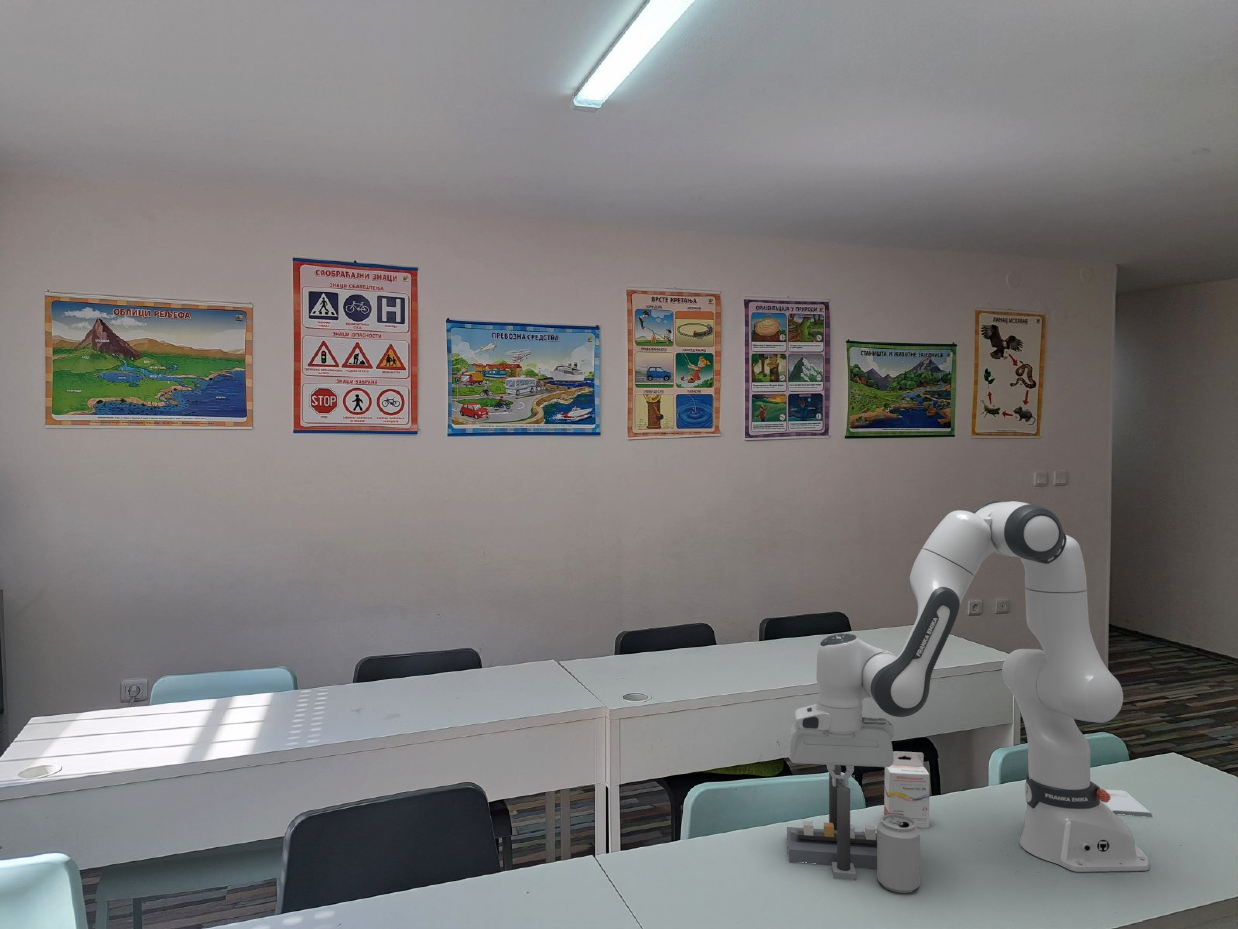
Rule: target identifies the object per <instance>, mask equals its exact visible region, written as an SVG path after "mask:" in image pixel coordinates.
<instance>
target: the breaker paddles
mask: <svg viewBox="0 0 1238 929" xmlns="http://www.w3.org/2000/svg"><path fill="white" fill-rule="evenodd" d="M802 822H803V827H802V828H803V831H800V830H798V839H808V840H822V841H836V842H837V833H834V825H833V823H829V822H823V829H824V832H814V831H813V829H814V823H813V821H806V820H803V821H802ZM855 832H856V829H855V825H854V824H852V823H850V843H864V844H877V836H876V833H877V829H876V827H875V825H866V824H865V825H864V832H865V835H857V834H855Z"/></svg>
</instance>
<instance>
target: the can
mask: <svg viewBox="0 0 1238 929" xmlns="http://www.w3.org/2000/svg"><path fill="white" fill-rule="evenodd" d="M876 833H877V869H876V878H877V880H878V881H879V882H880V883H881V885H882V887H884V888H885V889H887V890H889V891H892V892H894V893H900V894H907V893H911V892H913V891H914V890H916V889H918V887H920V882H921V881H920V880H921V869H920V868H921V850H920V848H921V842H920V841H921V831H920V829H919V827H916V822H915V821H914V820H913V819H911V818H909V817H907V816H904V815H899V814H888V815H884V814H883V815H882V816H881V818H880V822H878V823H877V827H876Z"/></svg>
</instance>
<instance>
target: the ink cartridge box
mask: <svg viewBox="0 0 1238 929" xmlns="http://www.w3.org/2000/svg"><path fill="white" fill-rule="evenodd" d="M924 756H925V755H924V753H923V752H915V751H914V752H912V751H893V760H894V762H893V764H892V765H891V766H890V767H884V793H883V794H884V795H883V796H884V799H883V800H884V801H883V802H884V804H883V807H884V808H883V816H884V815H888V814H899V815H904V816H907V817H909V818H911V819H913V820H914V821H915V822H916V827H917V828H922V829H923V828H924V829H929V828H930V780H931V779H930V778H931V777H930V773H929V772H928V770H927V769H926V767H925V766H924ZM902 757H906V758H910V759H902ZM900 758H901V759H900Z"/></svg>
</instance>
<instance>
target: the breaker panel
mask: <svg viewBox="0 0 1238 929" xmlns="http://www.w3.org/2000/svg"><path fill="white" fill-rule="evenodd" d="M798 830H800V831H803V827H797V826H795V827H793V826H786V842H787V843H786V845H787V844H788V845H787V853H788V855H789V856H788V862H789V861H790V862H789V863H793V862H804V863H803V864H806V863H805V862H807V863H816V864H815V865H820V864H822V865H823V866H832V862H837V842H836V841H822V840H808V839H798ZM813 831H814V832H824V828H823V829H822V828H813ZM834 833H837V830H834ZM855 834H857V835H865V831H864V832H863V831H855ZM876 836H877V832H876ZM850 863H853V865H854V868H858V869H859V868H862V869H871V870H872V869H873V870H877V844H864V843H850ZM822 865H821V866H822Z"/></svg>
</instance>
